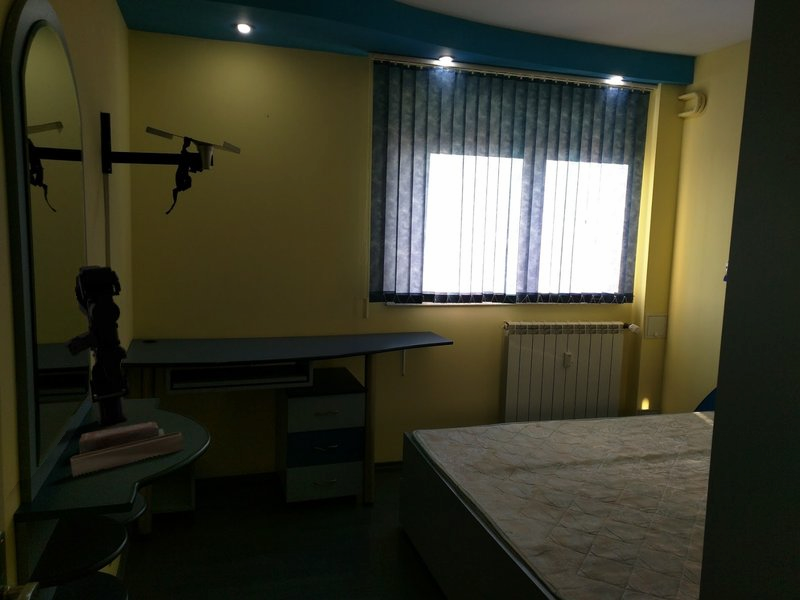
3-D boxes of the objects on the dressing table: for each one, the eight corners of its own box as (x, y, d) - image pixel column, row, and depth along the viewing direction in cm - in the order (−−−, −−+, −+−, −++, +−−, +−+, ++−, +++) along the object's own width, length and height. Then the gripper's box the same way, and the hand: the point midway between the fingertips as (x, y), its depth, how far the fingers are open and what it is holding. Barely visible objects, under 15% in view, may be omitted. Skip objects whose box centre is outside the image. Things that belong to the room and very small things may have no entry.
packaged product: (76, 444, 127) (78, 430, 135) (79, 465, 127) (81, 450, 136) (165, 426, 134) (161, 414, 143) (167, 446, 135) (163, 433, 144)
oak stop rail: (72, 473, 122) (69, 456, 121) (181, 446, 133) (180, 430, 133) (73, 477, 120) (70, 459, 120) (183, 449, 132) (182, 433, 131)
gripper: (62, 319, 143) (71, 381, 145) (66, 330, 127) (76, 399, 130) (112, 313, 149) (120, 372, 151) (122, 323, 133) (131, 389, 135)
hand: (111, 383), depth 142 cm, fingers closed
